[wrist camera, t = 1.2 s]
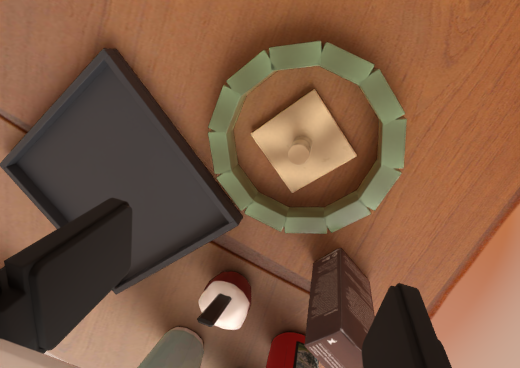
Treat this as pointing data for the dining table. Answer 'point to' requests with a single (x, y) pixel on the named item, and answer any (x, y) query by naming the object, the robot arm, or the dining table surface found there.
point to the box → (338, 312)
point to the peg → (303, 142)
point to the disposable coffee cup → (176, 350)
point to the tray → (121, 167)
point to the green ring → (344, 208)
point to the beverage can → (290, 352)
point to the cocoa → (225, 301)
